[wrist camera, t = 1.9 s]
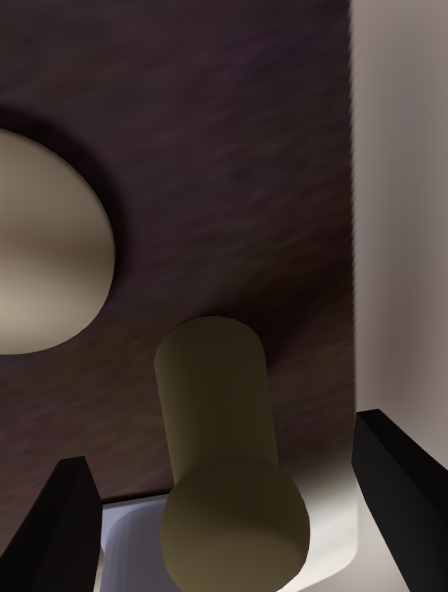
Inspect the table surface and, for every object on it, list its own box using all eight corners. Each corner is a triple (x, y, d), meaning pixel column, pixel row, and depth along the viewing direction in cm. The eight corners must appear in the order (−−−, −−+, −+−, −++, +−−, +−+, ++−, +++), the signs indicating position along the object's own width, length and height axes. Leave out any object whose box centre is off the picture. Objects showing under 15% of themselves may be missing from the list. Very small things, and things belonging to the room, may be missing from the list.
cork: (273, 316, 22) (357, 517, 12) (256, 403, 24) (314, 621, 15) (155, 314, 21) (146, 529, 11) (152, 405, 23) (143, 638, 14)
